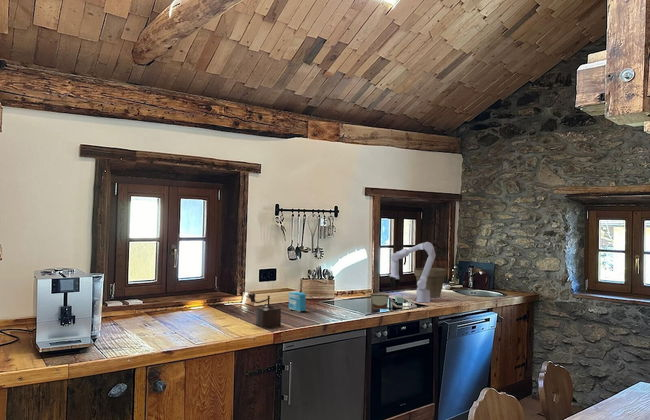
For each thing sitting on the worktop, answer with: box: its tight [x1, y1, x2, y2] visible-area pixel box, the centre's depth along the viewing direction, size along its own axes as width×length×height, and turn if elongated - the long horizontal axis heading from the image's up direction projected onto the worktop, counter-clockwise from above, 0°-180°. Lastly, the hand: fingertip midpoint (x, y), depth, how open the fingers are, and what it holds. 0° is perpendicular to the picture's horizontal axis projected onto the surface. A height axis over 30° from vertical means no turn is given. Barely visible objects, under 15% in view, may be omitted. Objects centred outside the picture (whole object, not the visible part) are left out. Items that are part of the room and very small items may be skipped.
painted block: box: [394, 295, 405, 304], centre depth 344 cm, size 5×7×4 cm
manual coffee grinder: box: [248, 292, 282, 328], centre depth 261 cm, size 16×11×18 cm
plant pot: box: [413, 267, 447, 299], centre depth 374 cm, size 25×25×22 cm
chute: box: [390, 298, 418, 308], centre depth 336 cm, size 14×26×2 cm, turn 4°
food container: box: [370, 292, 390, 310], centre depth 319 cm, size 12×6×10 cm, turn 84°
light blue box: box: [288, 291, 307, 312], centre depth 306 cm, size 12×4×12 cm, turn 43°
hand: (394, 287), depth 350 cm, fingers open, 7 cm apart
